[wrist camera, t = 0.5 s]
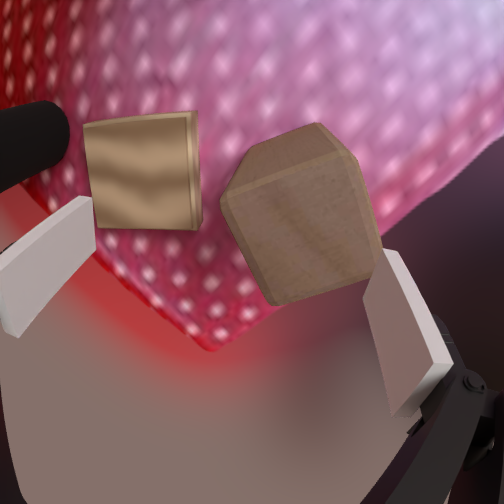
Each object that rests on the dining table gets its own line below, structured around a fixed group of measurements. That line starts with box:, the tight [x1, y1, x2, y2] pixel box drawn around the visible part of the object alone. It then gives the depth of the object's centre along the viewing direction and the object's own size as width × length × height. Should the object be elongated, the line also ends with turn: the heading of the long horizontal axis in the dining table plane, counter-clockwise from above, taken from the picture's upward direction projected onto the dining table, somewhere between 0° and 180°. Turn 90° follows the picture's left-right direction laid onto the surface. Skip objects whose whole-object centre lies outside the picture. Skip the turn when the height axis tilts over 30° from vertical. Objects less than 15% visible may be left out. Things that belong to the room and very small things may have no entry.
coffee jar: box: [0, 100, 70, 193], centre depth 31 cm, size 11×11×18 cm
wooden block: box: [220, 123, 383, 306], centre depth 31 cm, size 10×10×20 cm
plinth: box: [83, 111, 203, 231], centre depth 39 cm, size 15×15×4 cm
